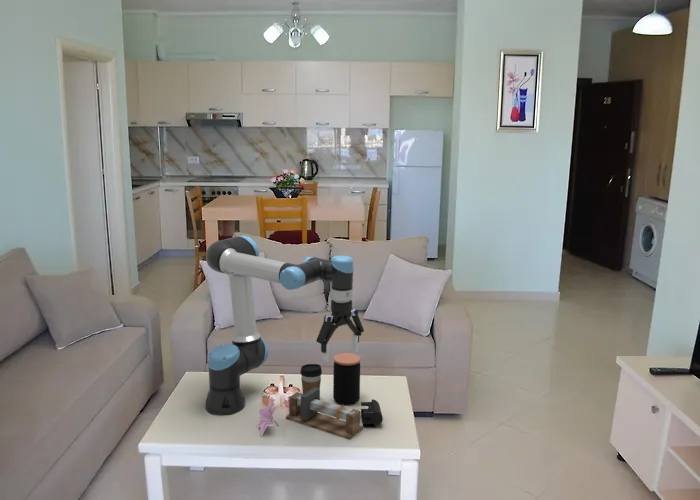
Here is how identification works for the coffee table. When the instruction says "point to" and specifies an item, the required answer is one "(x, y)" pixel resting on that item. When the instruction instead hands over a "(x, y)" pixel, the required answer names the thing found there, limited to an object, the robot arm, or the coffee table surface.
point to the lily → (266, 417)
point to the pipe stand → (326, 417)
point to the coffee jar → (346, 378)
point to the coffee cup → (310, 376)
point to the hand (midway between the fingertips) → (340, 356)
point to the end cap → (371, 414)
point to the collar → (305, 403)
